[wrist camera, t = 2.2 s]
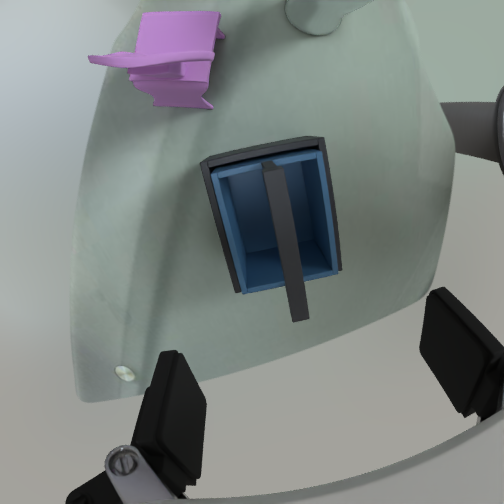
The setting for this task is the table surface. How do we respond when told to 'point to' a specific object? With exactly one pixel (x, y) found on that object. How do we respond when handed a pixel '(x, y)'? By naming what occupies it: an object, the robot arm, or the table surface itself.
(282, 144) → the charcoal bin
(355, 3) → the beer glass
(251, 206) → the blue bin
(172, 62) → the toy chair
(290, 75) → the table surface
